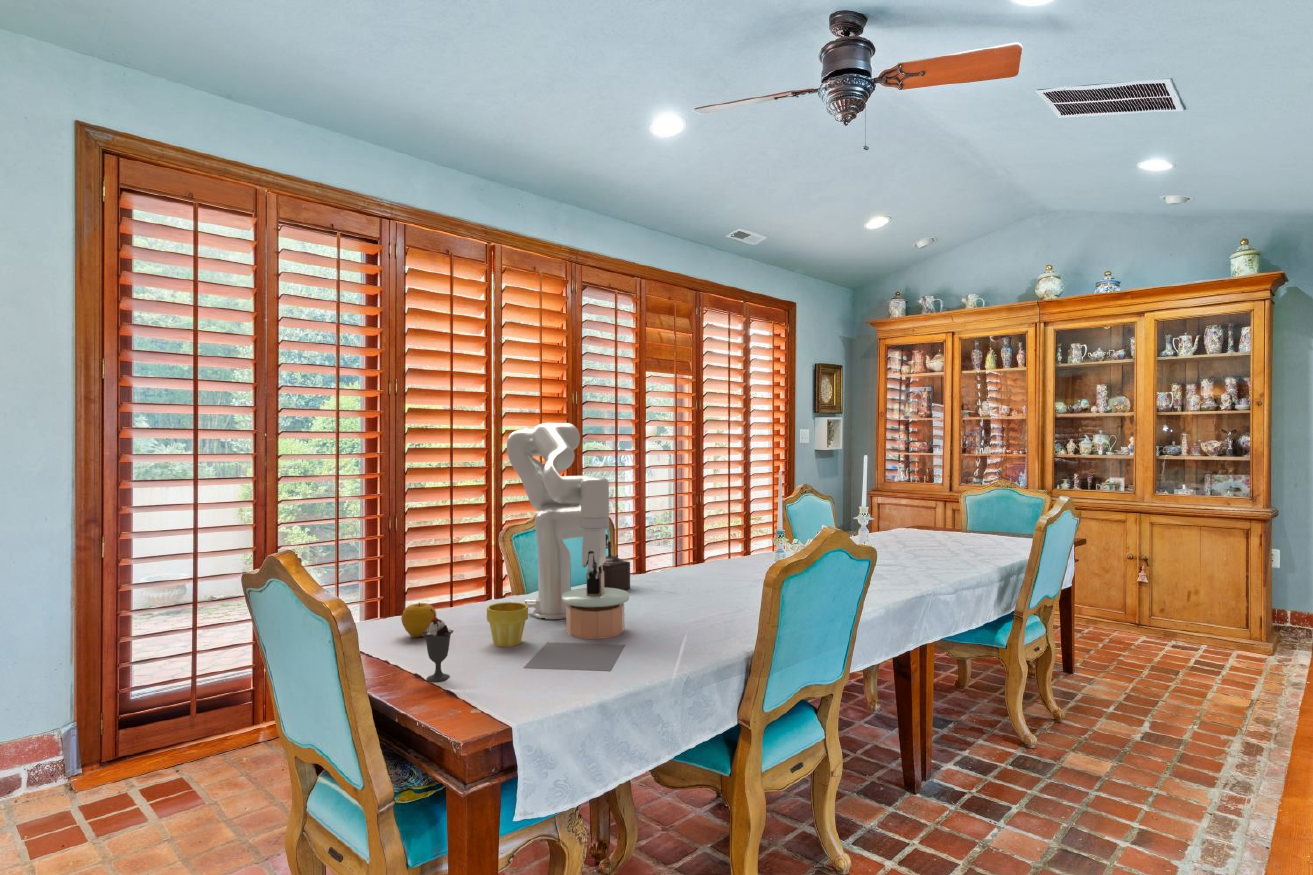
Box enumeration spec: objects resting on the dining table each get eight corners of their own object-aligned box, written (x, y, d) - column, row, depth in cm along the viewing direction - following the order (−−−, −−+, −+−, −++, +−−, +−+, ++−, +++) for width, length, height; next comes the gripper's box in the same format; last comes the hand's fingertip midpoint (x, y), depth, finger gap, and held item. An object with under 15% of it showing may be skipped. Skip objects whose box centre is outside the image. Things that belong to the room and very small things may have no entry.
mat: (523, 670, 161) (523, 667, 161) (547, 644, 181) (547, 642, 181) (610, 673, 159) (610, 670, 159) (625, 646, 179) (625, 644, 179)
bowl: (561, 639, 185) (561, 610, 185) (574, 624, 200) (574, 597, 200) (618, 641, 184) (618, 612, 184) (627, 626, 198) (627, 599, 198)
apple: (425, 641, 184) (425, 607, 184) (394, 640, 186) (393, 605, 186) (442, 632, 193) (442, 599, 193) (412, 630, 195) (412, 597, 195)
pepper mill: (632, 588, 248) (632, 536, 248) (607, 593, 240) (607, 539, 240) (604, 581, 259) (604, 532, 259) (580, 586, 251) (579, 535, 251)
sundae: (425, 673, 159) (425, 606, 159) (456, 672, 160) (456, 605, 160) (418, 683, 153) (418, 613, 153) (450, 682, 153) (450, 613, 153)
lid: (554, 606, 184) (553, 578, 184) (570, 590, 202) (570, 565, 202) (623, 607, 182) (622, 579, 182) (633, 592, 200) (633, 566, 200)
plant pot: (535, 640, 185) (535, 603, 185) (515, 652, 175) (515, 612, 175) (500, 637, 188) (500, 600, 188) (478, 648, 178) (478, 609, 178)
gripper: (587, 519, 201) (588, 584, 201) (574, 527, 184) (574, 598, 184) (614, 519, 200) (614, 585, 200) (602, 527, 183) (603, 599, 183)
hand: (595, 590), depth 192 cm, fingers closed on lid, 3 cm apart
